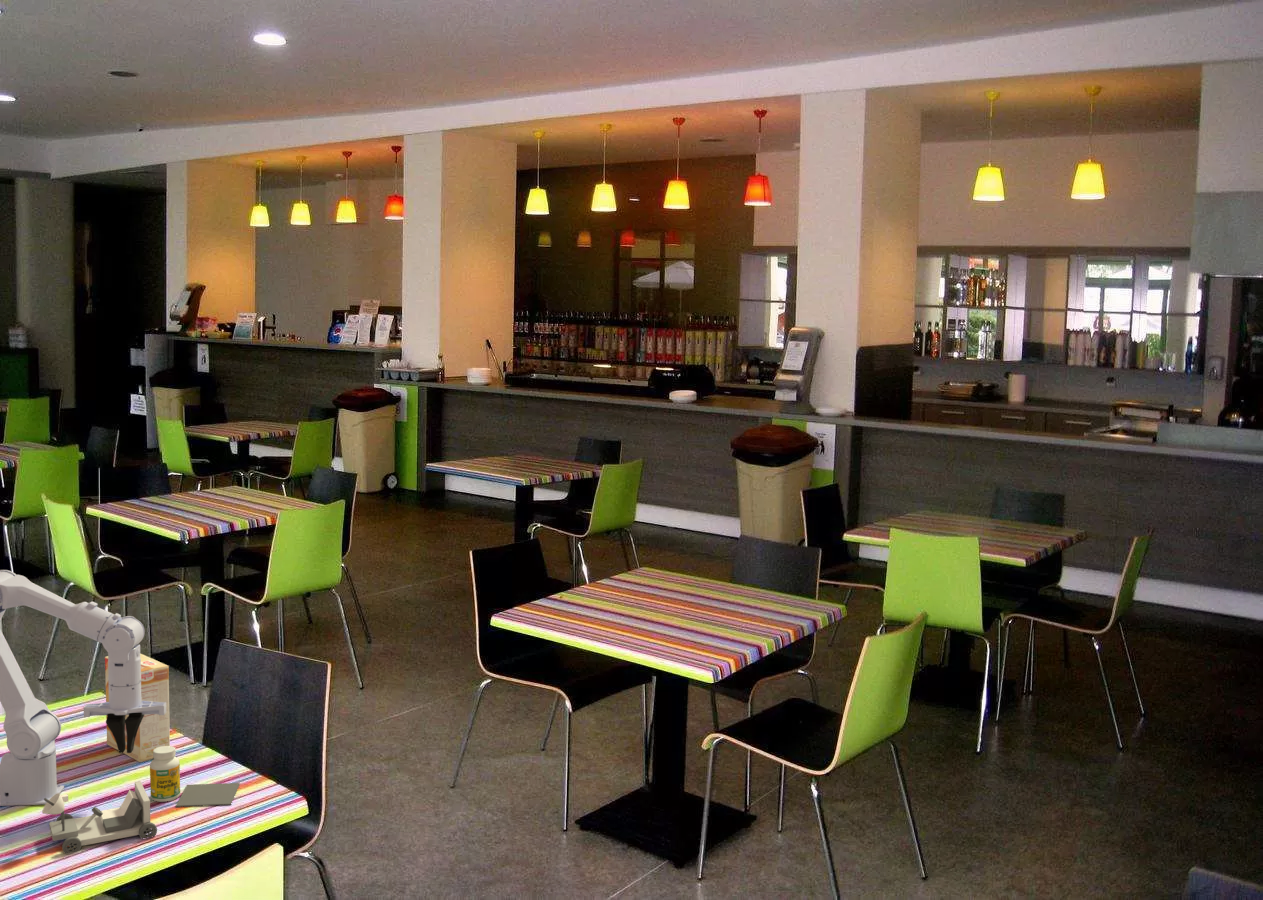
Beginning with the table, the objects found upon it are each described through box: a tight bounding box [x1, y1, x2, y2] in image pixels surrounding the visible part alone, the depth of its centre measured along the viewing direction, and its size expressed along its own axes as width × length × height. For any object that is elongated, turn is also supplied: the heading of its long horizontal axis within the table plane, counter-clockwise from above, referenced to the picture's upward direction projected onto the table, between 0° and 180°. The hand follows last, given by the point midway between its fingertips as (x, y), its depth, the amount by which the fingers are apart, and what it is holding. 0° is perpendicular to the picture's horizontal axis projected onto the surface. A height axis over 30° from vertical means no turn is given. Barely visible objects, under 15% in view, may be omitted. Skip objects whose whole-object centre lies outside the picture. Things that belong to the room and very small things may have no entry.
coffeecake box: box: [104, 653, 171, 763], centre depth 251 cm, size 15×7×20 cm, turn 49°
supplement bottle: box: [149, 745, 181, 803], centre depth 228 cm, size 5×5×10 cm
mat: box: [175, 782, 241, 808], centre depth 230 cm, size 10×10×1 cm
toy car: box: [41, 780, 158, 855], centre depth 212 cm, size 18×10×12 cm
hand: (126, 751), depth 226 cm, fingers closed
